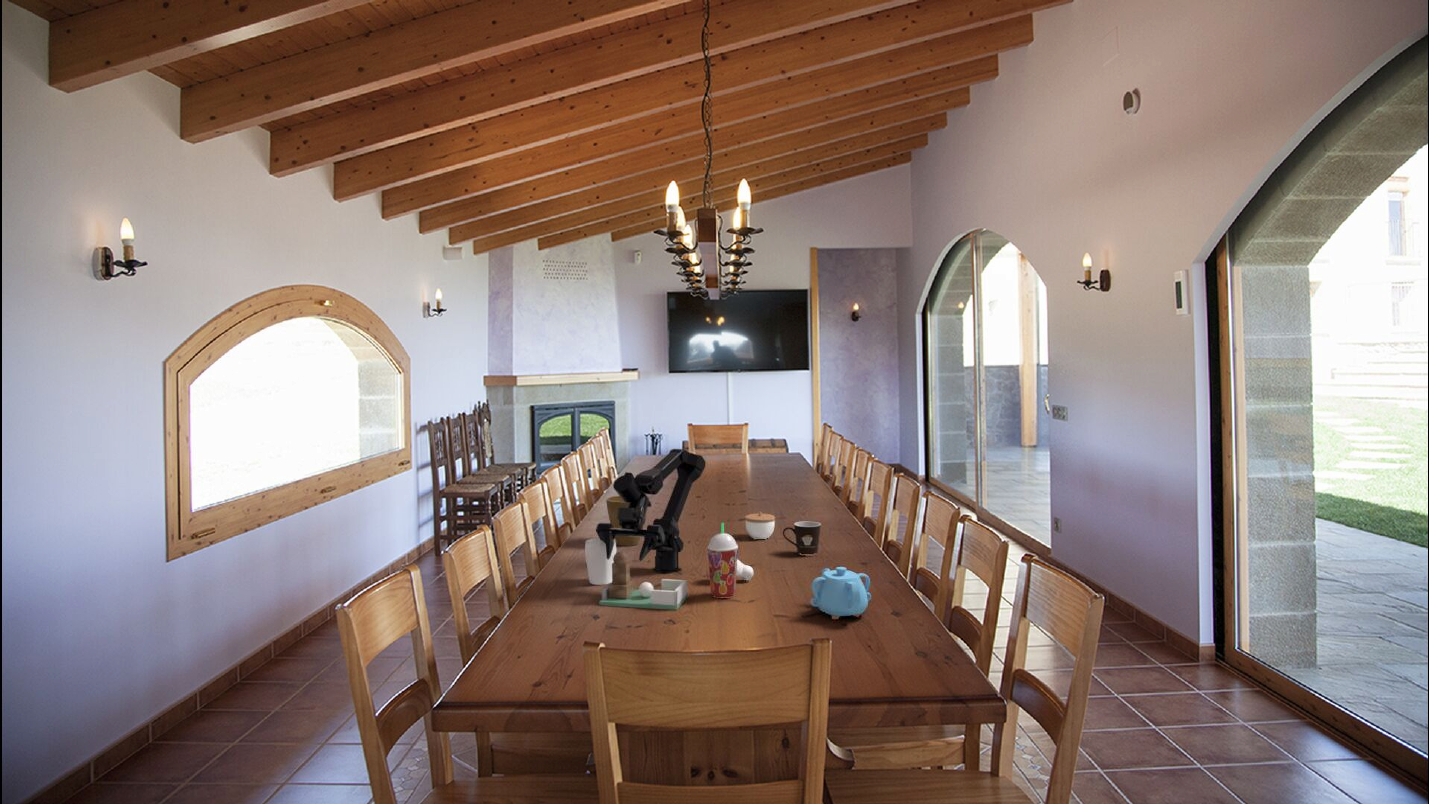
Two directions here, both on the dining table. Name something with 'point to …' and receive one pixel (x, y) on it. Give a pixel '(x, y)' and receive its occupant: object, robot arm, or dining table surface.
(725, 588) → the smoothie
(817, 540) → the coffee mug
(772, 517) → the lidded jar
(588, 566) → the cup
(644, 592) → the ball
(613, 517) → the plant pot
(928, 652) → the dining table surface
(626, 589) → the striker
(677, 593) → the pitch
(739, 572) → the penguin figurine
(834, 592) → the teapot
